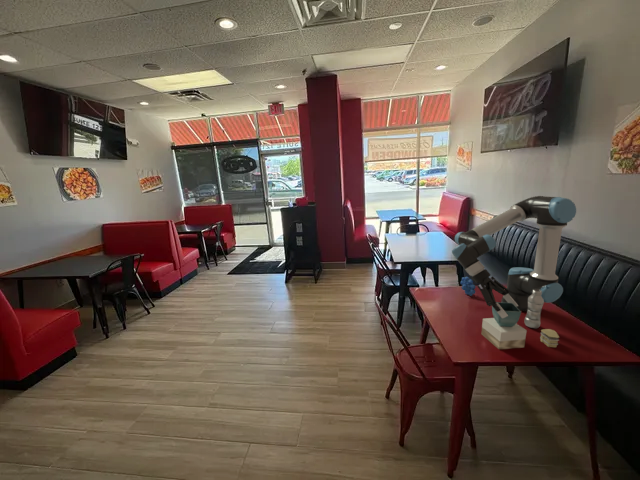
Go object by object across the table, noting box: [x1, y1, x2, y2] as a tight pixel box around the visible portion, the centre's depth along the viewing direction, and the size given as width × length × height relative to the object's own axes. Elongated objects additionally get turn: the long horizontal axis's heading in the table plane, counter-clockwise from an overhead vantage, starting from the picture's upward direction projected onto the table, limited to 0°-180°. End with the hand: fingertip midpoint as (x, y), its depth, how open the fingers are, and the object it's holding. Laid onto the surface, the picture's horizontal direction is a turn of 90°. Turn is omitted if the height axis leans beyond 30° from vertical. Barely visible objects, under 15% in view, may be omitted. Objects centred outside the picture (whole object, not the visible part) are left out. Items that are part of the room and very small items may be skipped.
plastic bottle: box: [523, 289, 545, 329], centre depth 134 cm, size 6×7×20 cm
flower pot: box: [491, 301, 522, 327], centre depth 123 cm, size 9×9×9 cm
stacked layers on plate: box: [539, 328, 560, 348], centre depth 122 cm, size 10×9×6 cm
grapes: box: [460, 276, 476, 297], centre depth 173 cm, size 12×7×12 cm, turn 16°
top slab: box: [481, 317, 528, 341], centre depth 125 cm, size 12×12×4 cm
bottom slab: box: [481, 326, 526, 350], centre depth 126 cm, size 12×12×4 cm
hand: (510, 311), depth 121 cm, fingers open, 13 cm apart
